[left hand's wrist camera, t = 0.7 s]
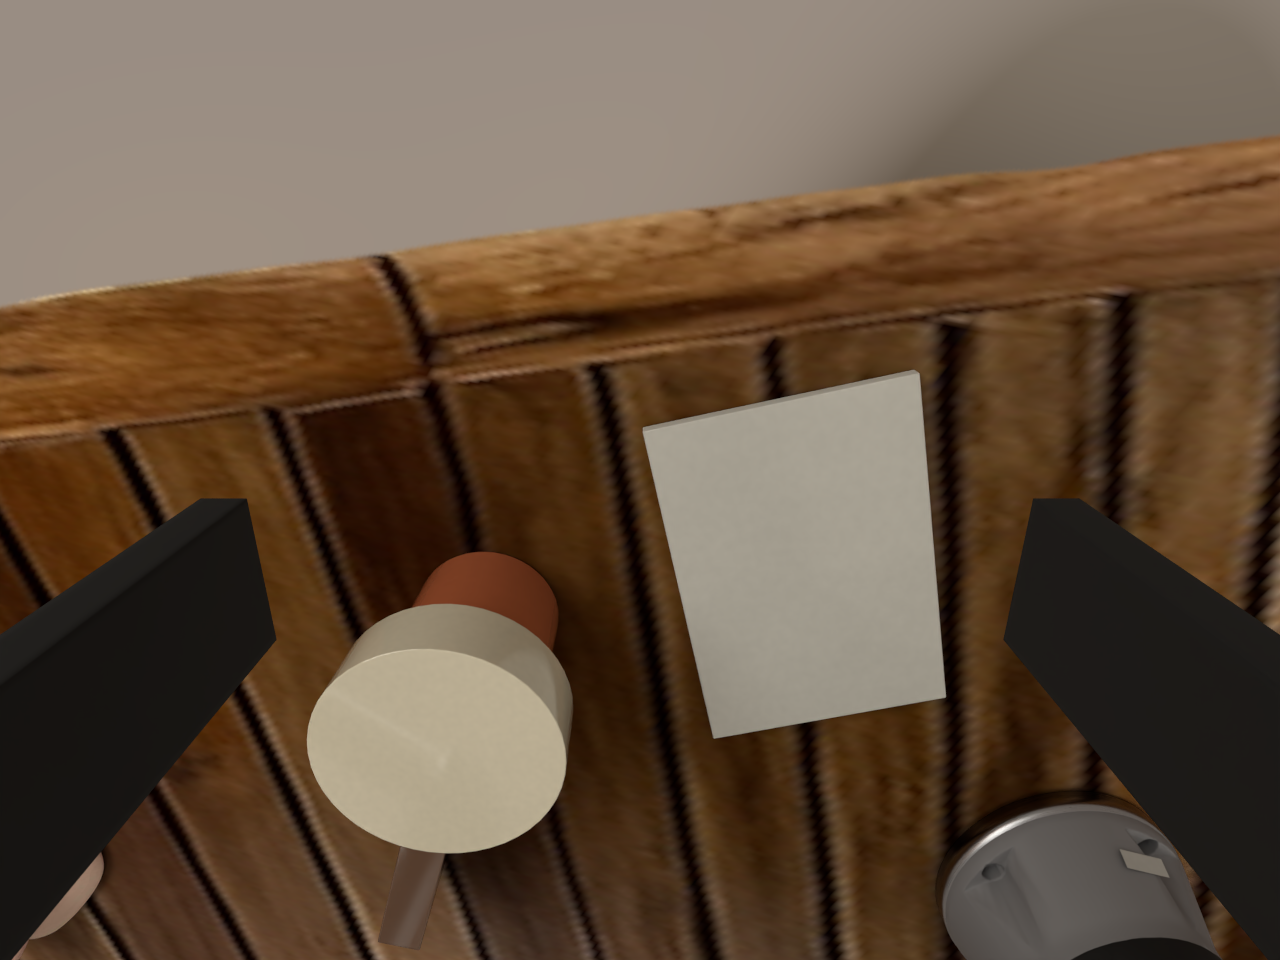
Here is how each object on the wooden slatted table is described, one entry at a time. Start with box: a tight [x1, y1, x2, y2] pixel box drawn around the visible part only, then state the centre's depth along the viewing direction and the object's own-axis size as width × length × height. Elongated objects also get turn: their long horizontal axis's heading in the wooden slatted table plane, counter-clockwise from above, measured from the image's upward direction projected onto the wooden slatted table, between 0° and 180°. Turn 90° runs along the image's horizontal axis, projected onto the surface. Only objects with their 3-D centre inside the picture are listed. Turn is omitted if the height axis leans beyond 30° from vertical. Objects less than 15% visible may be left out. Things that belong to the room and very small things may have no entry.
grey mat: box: [643, 370, 946, 739], centre depth 40 cm, size 20×14×1 cm
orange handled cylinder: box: [378, 552, 559, 950], centre depth 41 cm, size 24×8×8 cm, turn 163°
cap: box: [307, 604, 573, 853], centre depth 33 cm, size 11×11×4 cm
